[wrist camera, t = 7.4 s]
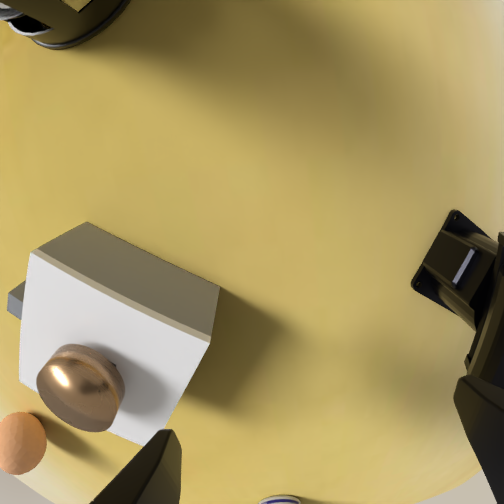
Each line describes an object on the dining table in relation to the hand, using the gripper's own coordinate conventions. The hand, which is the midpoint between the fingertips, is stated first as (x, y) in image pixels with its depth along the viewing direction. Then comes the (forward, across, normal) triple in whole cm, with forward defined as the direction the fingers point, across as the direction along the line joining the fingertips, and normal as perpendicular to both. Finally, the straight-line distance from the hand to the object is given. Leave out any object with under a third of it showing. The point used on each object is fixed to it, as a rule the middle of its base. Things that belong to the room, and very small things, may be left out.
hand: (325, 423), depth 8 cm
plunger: (+12, +11, +2) cm, 17 cm away
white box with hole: (+13, +11, +2) cm, 17 cm away
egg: (+13, +28, +14) cm, 34 cm away
